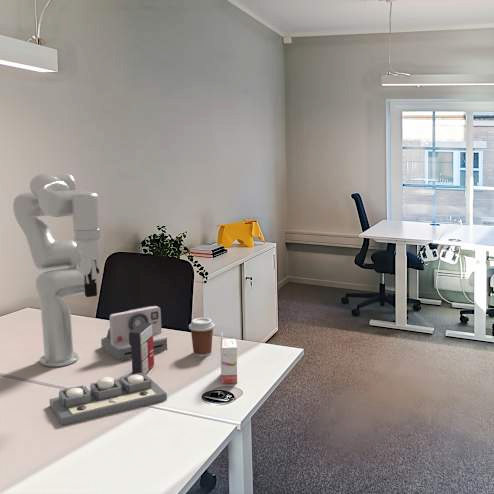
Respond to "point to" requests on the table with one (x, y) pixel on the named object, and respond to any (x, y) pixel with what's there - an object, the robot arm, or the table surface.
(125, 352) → the instant camera
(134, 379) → the button
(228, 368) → the ink cartridge box
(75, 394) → the button
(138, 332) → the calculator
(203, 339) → the coffee cup
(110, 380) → the button
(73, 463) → the table surface
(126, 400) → the switch panel
